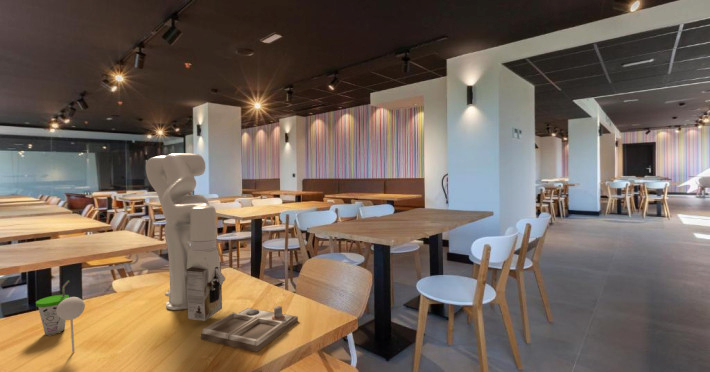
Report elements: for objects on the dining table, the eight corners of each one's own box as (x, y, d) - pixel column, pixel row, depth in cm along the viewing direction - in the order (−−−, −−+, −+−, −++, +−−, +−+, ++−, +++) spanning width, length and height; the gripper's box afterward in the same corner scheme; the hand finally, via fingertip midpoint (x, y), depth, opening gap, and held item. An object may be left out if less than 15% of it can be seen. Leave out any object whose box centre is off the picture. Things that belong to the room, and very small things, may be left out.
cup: (33, 340, 100) (30, 290, 99) (42, 329, 107) (39, 282, 106) (67, 334, 103) (64, 285, 103) (74, 324, 110) (71, 278, 110)
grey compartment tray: (200, 339, 99) (200, 322, 99) (247, 312, 117) (247, 297, 117) (256, 352, 91) (256, 333, 91) (297, 321, 110) (297, 305, 109)
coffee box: (205, 307, 116) (204, 260, 115) (222, 308, 115) (221, 261, 113) (187, 319, 107) (185, 268, 106) (205, 321, 106) (204, 270, 104)
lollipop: (70, 346, 96) (67, 294, 95) (92, 345, 96) (89, 293, 96) (52, 359, 90) (49, 302, 89) (76, 357, 90) (73, 301, 90)
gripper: (173, 244, 109) (175, 299, 110) (215, 250, 102) (217, 308, 104) (193, 239, 116) (194, 290, 117) (233, 244, 109) (234, 299, 111)
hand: (205, 298), depth 110 cm, fingers closed on coffee box, 7 cm apart
